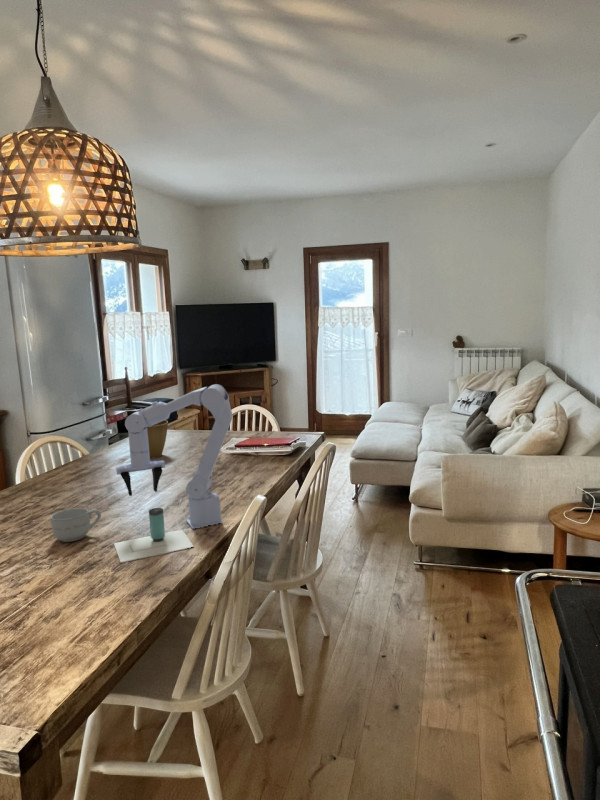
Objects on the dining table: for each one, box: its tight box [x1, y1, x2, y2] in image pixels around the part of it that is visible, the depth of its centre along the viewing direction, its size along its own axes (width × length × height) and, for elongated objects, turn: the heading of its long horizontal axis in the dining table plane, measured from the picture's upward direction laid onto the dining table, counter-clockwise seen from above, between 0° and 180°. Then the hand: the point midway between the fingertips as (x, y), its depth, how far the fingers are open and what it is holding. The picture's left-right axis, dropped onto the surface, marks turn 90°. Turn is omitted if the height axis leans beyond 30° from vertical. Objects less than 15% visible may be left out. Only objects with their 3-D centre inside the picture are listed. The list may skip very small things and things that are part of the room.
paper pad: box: [113, 529, 195, 564], centre depth 160 cm, size 20×14×1 cm
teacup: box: [49, 507, 102, 543], centre depth 168 cm, size 14×11×8 cm
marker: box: [148, 507, 166, 542], centre depth 163 cm, size 4×4×9 cm
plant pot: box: [147, 419, 169, 459], centre depth 260 cm, size 15×15×16 cm
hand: (143, 492), depth 175 cm, fingers open, 7 cm apart
